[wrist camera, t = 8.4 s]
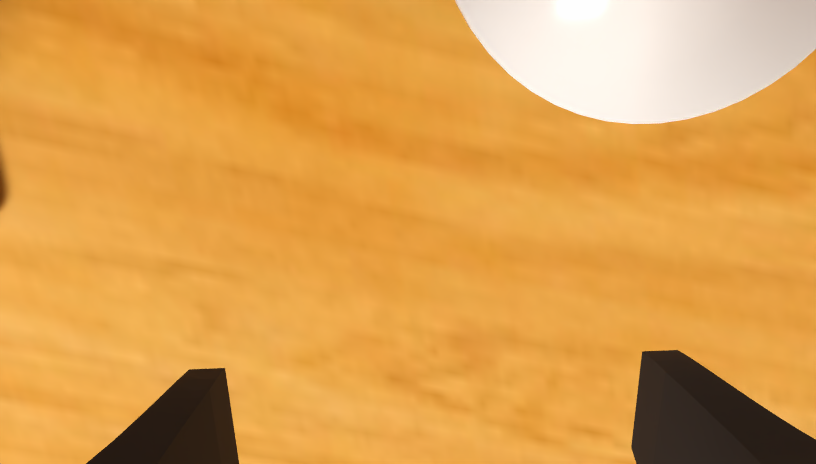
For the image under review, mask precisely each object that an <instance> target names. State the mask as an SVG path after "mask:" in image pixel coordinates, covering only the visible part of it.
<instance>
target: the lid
mask: <svg viewBox="0 0 816 464" xmlns="http://www.w3.org/2000/svg"><path fill="white" fill-rule="evenodd" d="M455 2H456V4H457V6H458V8H459V10H460V11H461V13H462V15H463V17H464V19H465V21H466V22H467V24H468V26H469V28H470V29H471V30H472V32H473V33H474V34H475V36H476V37H477V38H478V40H479V41H480V42H481V44H482V45H483V46H484V48H485V49H486V50H487V52H488V53H489V54H490V55H491V56H492V57H493V58H494V59H495V60H496V61H497V62H498V63H499V64H500V65H501V66H502V67H503V68H504V69H505V71H506V72H507V73H508V74H509V75H511V76H512V77H513V78H515V79H516V80H517V81H518V82H520V83H521V84H522V85H524V86H525V87H526V88H528V89H529V90H530V91H531V92H533V93H535V94H537V95H539V96H540V97H542V98H544V99H546V100H547V101H549V102H551V103H553V104H554V105H557V106H559V107H562V108H564V109H567V110H569V111H572V112H574V113H577V114H579V115H583V116H587V117H591V118H596V119H600V120H604V121H610V122H620V123H629V124H648V123H665V122H671V121H678V120H684V119H690V118H693V117H697V116H700V115H704V114H707V113H711V112H715V111H717V110H720V109H722V108H725V107H727V106H729V105H732V104H734V103H737V102H739V101H742V100H744V99H745V98H747V97H749V96H751V95H753V94H755V93H756V92H758V91H760V90H762V89H764V88H765V87H767V86H769V85H770V84H772V83H773V82H775V81H776V80H778V79H779V78H780V77H782V76H783V75H785V74H786V73H788V72H789V71H790V70H792V69H793V68H795V67H796V66H797V65H798V64H799V63H800V62H801V61H803V60H804V59H805V58H806V57H807V56H808V55H809V54H811V53H812V52H813V51H814V50H815V49H816V0H455Z"/></svg>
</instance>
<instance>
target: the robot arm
mask: <svg viewBox="0 0 816 464" xmlns="http://www.w3.org/2000/svg"><path fill="white" fill-rule="evenodd" d="M632 451H633V454H634V457H635V460H636V464H816V440H815V439H814V438H812V437H810V436H809V435H807V434H805V433H803V432H802V431H800V430H798V429H797V428H795V427H794V426H792V425H790V424H789V423H787V422H786V421H784V420H782V419H781V418H779V417H778V416H776V415H775V414H773V413H772V412H770V411H768V410H767V409H765V408H764V407H762V406H761V405H759V404H758V403H756V402H755V401H753V400H752V399H750V398H749V397H747V396H746V395H744V394H743V393H741V392H740V391H738V390H737V389H736V388H734V387H733V386H731V385H730V384H728V383H727V382H725V381H724V380H722V379H721V378H719V377H718V376H717V375H715V374H714V373H712V372H711V371H709V370H708V369H706V368H705V367H703V366H702V365H700V364H699V363H697V362H696V361H694V360H693V359H691V358H690V357H688V356H687V355H685V354H683V353H681V352H680V351H678V350H669V351H644V352H642V359H641V368H640V377H639V385H638V394H637V403H636V412H635V421H634V429H633V438H632ZM86 464H239V460H238V453H237V446H236V440H235V433H234V426H233V419H232V413H231V406H230V399H229V392H228V386H227V379H226V372H225V368H217V369H192V370H188V371H187V372H186V373H185V374H184V375H183V376H182V377H181V378H180V379H179V380H177V381H176V382H175V383H174V384H173V385H172V386H171V387H170V388H169V389H168V390H167V391H166V392H165V393H164V394H163V395H162V396H161V397H160V398H159V399H158V400H157V401H156V402H155V403H154V404H153V405H152V406H150V407H149V408H148V409H147V410H146V411H145V412H144V413H143V414H142V415H141V416H140V417H139V418H138V419H137V420H135V421H134V422H133V423H132V424H131V425H130V426H129V427H128V428H127V429H126V430H125V431H124V432H123V433H121V434H120V435H119V436H118V437H117V438H116V439H115V440H114V441H112V442H111V443H110V444H109V445H108V446H107V447H105V448H104V449H103V450H102V451H101V452H99V453H98V454H97V455H96V456H95V457H93V458H92V459H91V460H90V461H89V462H88V463H86Z"/></svg>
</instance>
